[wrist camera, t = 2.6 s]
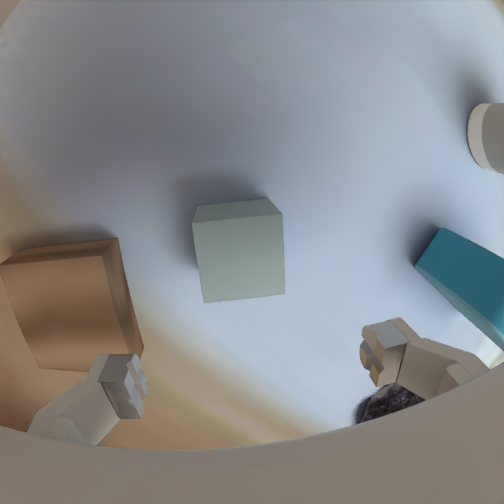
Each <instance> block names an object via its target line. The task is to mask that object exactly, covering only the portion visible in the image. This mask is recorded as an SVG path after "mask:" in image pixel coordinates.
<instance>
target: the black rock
mask: <svg viewBox="0 0 504 504" xmlns="http://www.w3.org/2000/svg"><path fill="white" fill-rule="evenodd" d="M423 401H426V400H425V399H424V398H422V397H420V396H418V395H417V394H415V393H413V392H411V391H410V390H408V389H406V388H404V387H403V386H401V385H399V384H398V383H397V382H394V383H391V384H389V385H388V386H385V387H383V388H381V389H379V390H378V391H377V392H376V393H375V394H374V395H373V396H372V397H371V398H370V400H369V402H368V404H367V408H366V409H365V414H364V415H363V417H362V418H361V421H360V422H361V423H363V422H366V421H370V420H373V419H376V418H379V417H382V416H385V415H388V414H391V413H394V412H397V411H400V410H403V409H405V408H408V407H411V406H413V405H416V404H418V403H421V402H423Z"/></svg>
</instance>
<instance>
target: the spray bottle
mask: <svg viewBox="0 0 504 504" xmlns="http://www.w3.org/2000/svg"><path fill="white" fill-rule="evenodd" d="M467 136H468V142H469V147H470V150H471V153H472V155H473V157H474V159H475V160H476V162H477V163H478V164H479V165H480V166H481V167H482V168H484V169H486V170H490V171H494V172H498V173H502V174H504V104H502V103H484V104H479V105H478V106H476V107H475V108H474V109H473V110H472V112H471V114H470V116H469V121H468V133H467Z"/></svg>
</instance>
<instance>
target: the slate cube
mask: <svg viewBox="0 0 504 504" xmlns="http://www.w3.org/2000/svg"><path fill="white" fill-rule="evenodd" d="M191 224H192V231H193V238H194V245H195V252H196V258H197V265H198V271H199V277H200V284H201V290H202V295H203V301H204V303H212V302H222V301H231V300H240V299H248V298H257V297H265V296H273V295H281V294H285V268H284V244H283V223H282V213H281V212H280V211H279V210H278V209H277V208H276V207H275V205H274V204H273V203H272V202H271V201H270V200H269V199H268V198H266V199H255V200H245V201H235V202H225V203H216V204H207V205H199V206H197V209H196V211H195V214H194V217H193V220H192V223H191Z"/></svg>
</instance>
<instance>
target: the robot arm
mask: <svg viewBox="0 0 504 504" xmlns="http://www.w3.org/2000/svg"><path fill="white" fill-rule="evenodd" d="M362 337H363V338H364V341H363V342H362V343H361V345H360V351H359V353H360V360H361V363H362V365H363V367H364V368H365V369H367V370H369V371H370V375H369V376H370V378H371V379H372V381H373V383H374V384H375V386H376V387H380V386H384V385H387V384H391V383H394V382H397V383H398V384H399V385H401V386H403V387H404V388H406V389H408V390H410V391H411V392H413V393H415V394H417V395H418V396H420V397H422V398H424V399H425V400H426V401H423V402H421V403H418V404H416V405H413V406H411V407H408V408H405V409H403V410H400V411H397V412H394V413H391V414H388V415H385V416H382V417H379V418H376V419H373V420H370V421H366V422H363V423H359V424H356V425H352V426H349V427H345V428H341V429H337V430H333V431H329V432H324V433H320V434H315V435H311V436H306V437H301V438H295V439H290V440H284V441H278V442H272V443H265V444H257V445H249V446H240V447H229V448H216V449H197V450H146V449H128V448H115V447H105V446H96V445H97V444H98V443H99V442H100V441H101V440H102V439H103V438H104V436H105V435H106V434H107V433H108V432H109V431H110V430H111V429H112V428H113V427H114V426H115V425H116V423H117V422H118V421H119V420H120V419H141V418H142V413H143V409H144V404H143V401H142V400H143V399H144V398H145V397H146V395H147V380H146V376H145V373H144V372H143V371H142V370H141V369H139V367H140V360H139V358H138V356H137V355H136V354H99V355H97V356H96V358H95V360H94V362H93V364H92V366H91V368H90V370H89V372H88V374H87V377H86V379H85V381H84V382H79V383H78V384H76V385H75V386H74V387H72V388H71V389H69V390H68V391H66V392H65V393H63V394H62V395H60V396H59V397H57V398H56V399H55V400H53V401H52V402H50V403H49V404H47V405H46V406H44V407H43V408H41V409H40V410H38V411H37V412H36V414H35V416H34V418H33V420H32V422H31V424H30V426H29V428H28V430H27V433H26V432H22V431H18V430H15V429H11V428H7V427H4V426H1V425H0V504H504V362H503V363H501V364H500V365H498V366H496V367H494V368H492V369H491V370H490V369H489V368H488V367H487V366H486V365H485V364H484V363H483V362H482V361H481V360H480V359H479V358H478V357H477V356H476V355H475V354H473V353H469V352H466V351H463V350H460V349H457V348H454V347H451V346H448V345H445V344H442V343H439V342H436V341H433V340H430V339H427V338H422V339H421V338H420V337H419V336H418V335H417V334H416V333H415V332H414V331H413V329H412V328H411V327H410V326H409V325H408V324H407V323H406V322H405V321H404V320H403V319H402V318H399V317H398V318H394V319H390V320H387V321H384V322H380V323H375V324H371V325H366V326H364V327H363V329H362Z"/></svg>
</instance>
